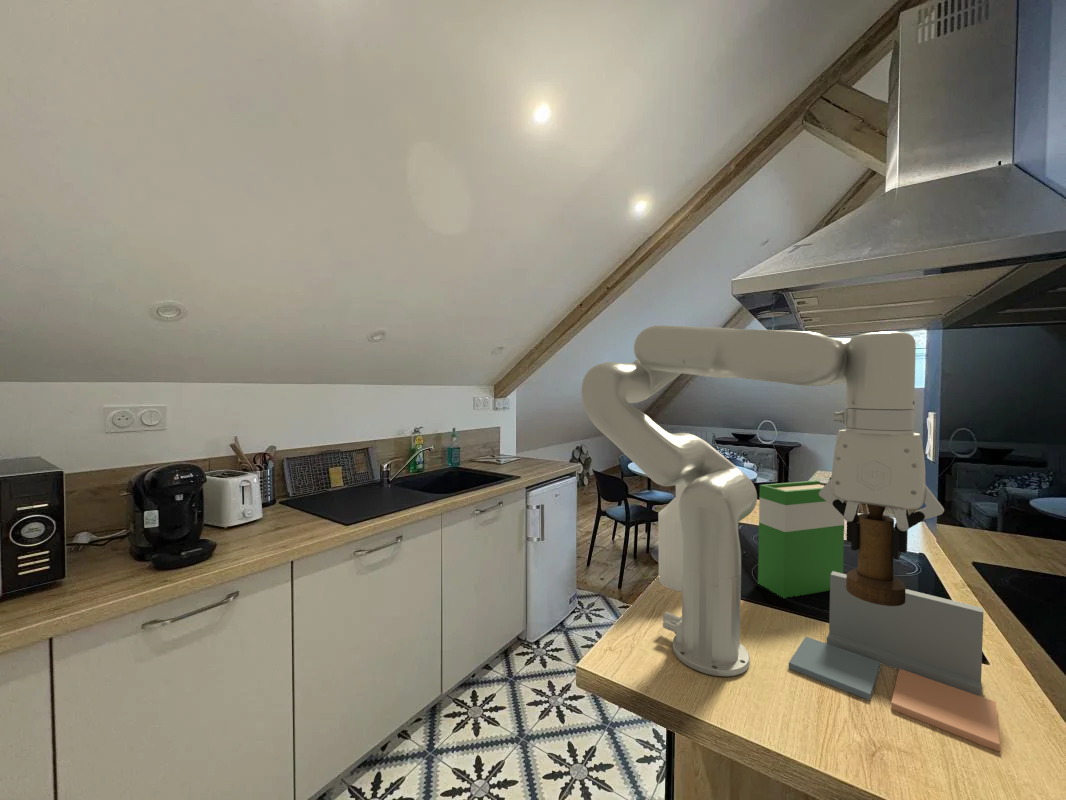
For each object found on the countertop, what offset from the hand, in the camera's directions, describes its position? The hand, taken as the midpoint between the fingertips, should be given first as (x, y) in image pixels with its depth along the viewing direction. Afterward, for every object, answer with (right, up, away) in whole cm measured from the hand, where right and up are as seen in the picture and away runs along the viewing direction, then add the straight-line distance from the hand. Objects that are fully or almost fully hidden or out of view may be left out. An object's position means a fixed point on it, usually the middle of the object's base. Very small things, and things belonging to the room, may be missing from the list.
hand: (875, 550), depth 63 cm
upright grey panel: (+15, -24, +14) cm, 32 cm away
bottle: (-12, -23, +45) cm, 52 cm away
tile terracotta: (+12, -24, +3) cm, 27 cm away
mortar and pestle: (0, -6, 0) cm, 6 cm away
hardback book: (+15, -23, +43) cm, 51 cm away
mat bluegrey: (+2, -24, +12) cm, 27 cm away
